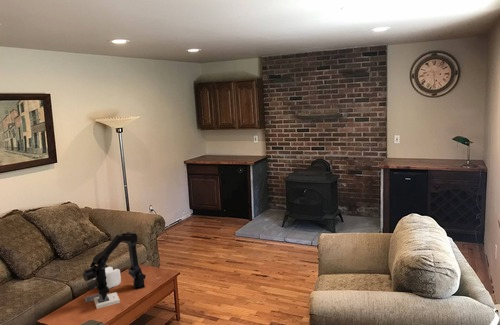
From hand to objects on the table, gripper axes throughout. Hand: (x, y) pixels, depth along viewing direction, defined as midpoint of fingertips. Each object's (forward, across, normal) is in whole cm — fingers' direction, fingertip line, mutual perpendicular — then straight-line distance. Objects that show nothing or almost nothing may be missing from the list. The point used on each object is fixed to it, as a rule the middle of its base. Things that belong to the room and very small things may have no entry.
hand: (103, 298), depth 254 cm
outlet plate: (+3, 0, +2) cm, 4 cm away
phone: (+4, -10, -3) cm, 11 cm away
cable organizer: (+3, -23, +6) cm, 24 cm away
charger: (+1, 0, 0) cm, 1 cm away
